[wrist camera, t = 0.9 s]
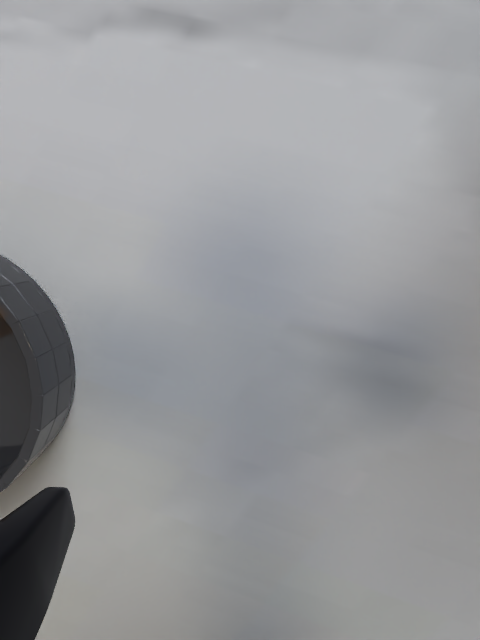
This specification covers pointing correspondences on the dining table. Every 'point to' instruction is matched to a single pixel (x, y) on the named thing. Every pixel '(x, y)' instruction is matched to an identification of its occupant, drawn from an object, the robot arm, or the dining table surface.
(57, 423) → the pan
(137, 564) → the dining table surface
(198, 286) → the dining table surface
